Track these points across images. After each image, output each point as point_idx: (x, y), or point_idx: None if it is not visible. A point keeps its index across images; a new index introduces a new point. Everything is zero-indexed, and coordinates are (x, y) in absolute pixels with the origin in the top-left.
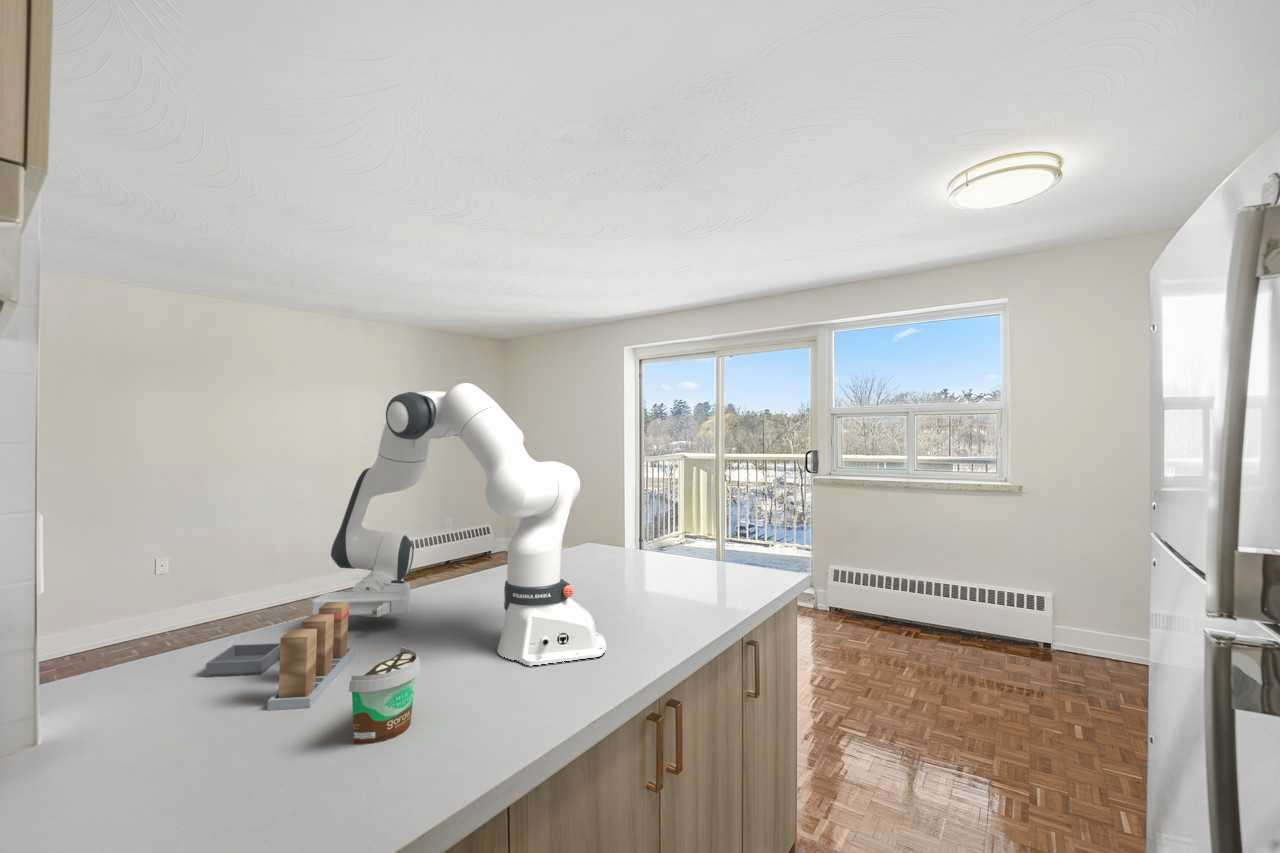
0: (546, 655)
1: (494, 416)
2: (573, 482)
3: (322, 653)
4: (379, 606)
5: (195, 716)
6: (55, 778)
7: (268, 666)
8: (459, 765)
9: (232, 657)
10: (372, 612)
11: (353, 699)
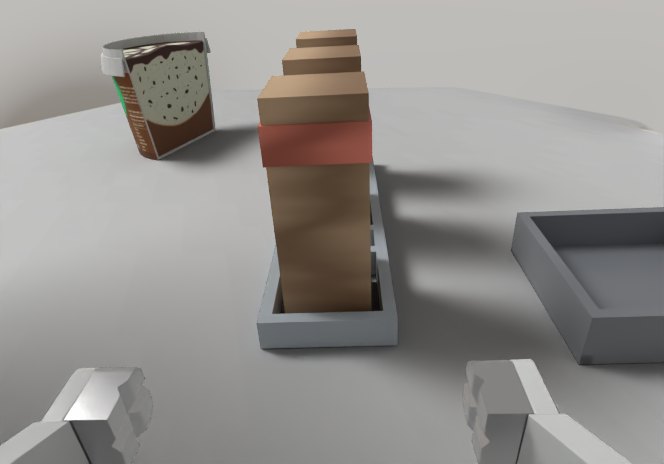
0: None
1: None
2: None
3: None
4: (61, 420)
5: (484, 157)
6: (518, 108)
7: (529, 273)
8: (108, 117)
9: None
10: (142, 380)
11: (206, 67)
